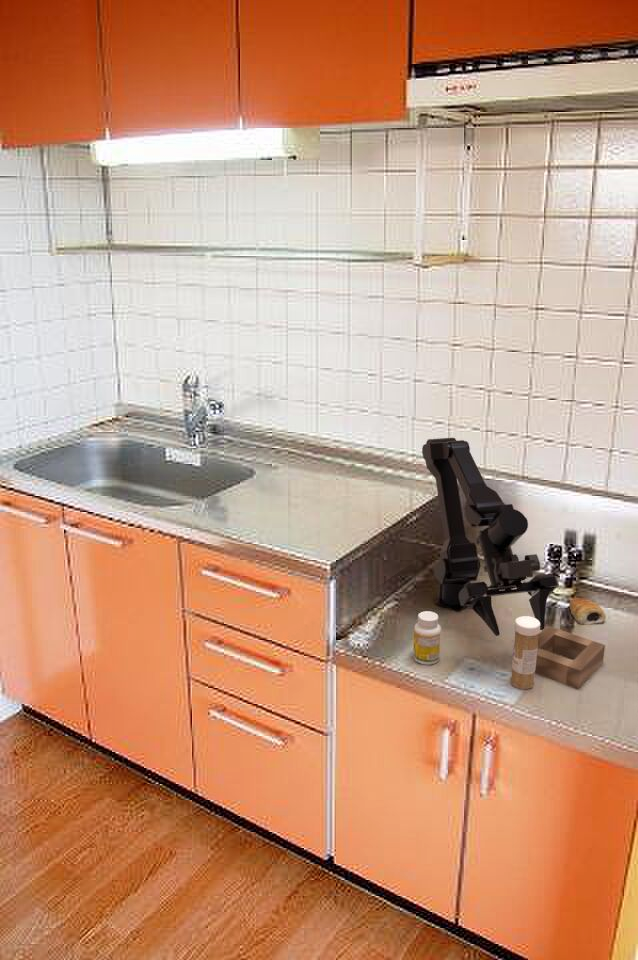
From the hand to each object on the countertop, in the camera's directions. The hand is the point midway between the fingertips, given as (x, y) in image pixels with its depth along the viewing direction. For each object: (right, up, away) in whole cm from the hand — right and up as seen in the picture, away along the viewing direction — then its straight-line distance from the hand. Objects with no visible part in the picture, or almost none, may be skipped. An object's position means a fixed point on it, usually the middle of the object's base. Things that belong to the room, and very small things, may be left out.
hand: (520, 632), depth 149 cm
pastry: (+21, -2, +26) cm, 33 cm away
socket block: (+10, -8, +7) cm, 14 cm away
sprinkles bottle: (+1, -10, +1) cm, 10 cm away
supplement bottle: (-17, -7, +10) cm, 20 cm away
